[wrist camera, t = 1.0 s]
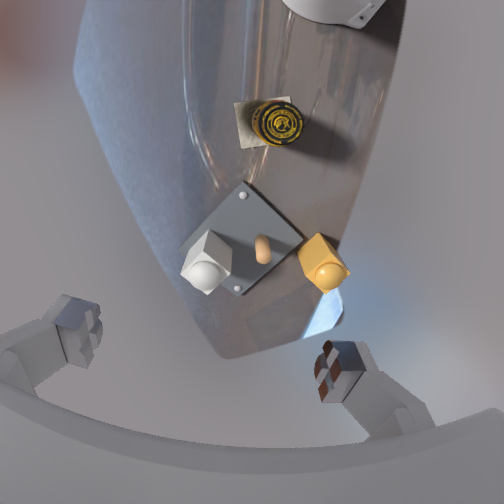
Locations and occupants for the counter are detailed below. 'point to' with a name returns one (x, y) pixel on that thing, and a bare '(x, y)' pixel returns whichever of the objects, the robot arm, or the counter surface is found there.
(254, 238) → the plate
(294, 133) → the condiment
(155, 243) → the counter surface
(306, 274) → the yellow knob block
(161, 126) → the counter surface
